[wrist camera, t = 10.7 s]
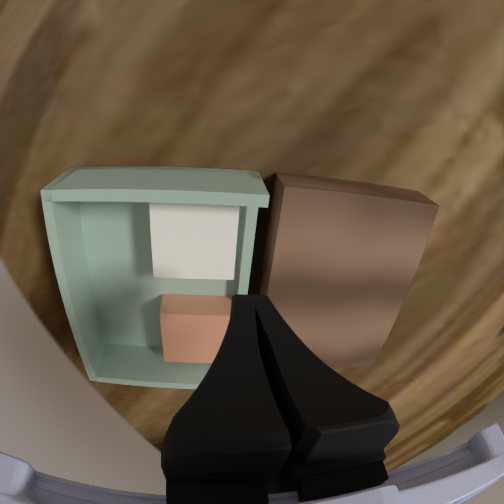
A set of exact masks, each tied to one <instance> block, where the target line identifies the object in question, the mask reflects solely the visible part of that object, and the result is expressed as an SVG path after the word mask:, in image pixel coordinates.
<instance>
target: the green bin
mask: <svg viewBox="0 0 504 504" xmlns="http://www.w3.org/2000/svg"><path fill="white" fill-rule="evenodd" d="M269 197H270V195H269V193H268V191H267V189H266V186H265V184H264V182H263V180H262V178H261V176H260V174H259V172H258V171H248V170H233V169H216V168H194V167H162V166H95V167H71V168H70V169H68V170H67V171H65V172H64V173H63V174H61V175H60V176H58V177H57V178H56V179H54V180H53V181H52V182H50V183H49V184H48V185H46V186H45V187H44V188H43V189H41V198H42V205H43V212H44V218H45V224H46V230H47V235H48V241H49V246H50V250H51V255H52V260H53V264H54V269H55V273H56V277H57V281H58V285H59V289H60V292H61V296H62V300H63V303H64V307H65V310H66V313H67V317H68V320H69V323H70V326H71V330H72V333H73V336H74V339H75V342H76V344H77V347H78V350H79V353H80V356H81V358H82V361H83V364H84V366H85V369H86V371H87V374H88V377H89V379H90V380H91V381H98V382H106V383H115V384H125V385H135V386H147V387H161V388H180V389H196V388H197V387H198V386H199V384H200V383H201V381H202V380H203V378H204V376H205V375H206V373H207V371H208V370H209V368H210V366H211V364H212V363H185V362H165V361H164V353H163V344H162V335H161V325H160V315H159V313H160V307H161V302H162V296H163V294H186V295H215V296H231V298H232V296H233V295H235V294H245V295H248V287H249V279H250V271H251V263H252V255H253V247H254V239H255V231H256V223H257V215H258V207H265V208H268V204H269ZM149 202H155V203H186V204H210V205H230V206H240V209H239V221H238V233H237V245H236V258H235V271H234V280H218V279H179V278H154V274H153V262H152V248H151V231H150V209H149Z"/></svg>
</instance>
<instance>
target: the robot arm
mask: <svg viewBox="0 0 504 504" xmlns="http://www.w3.org/2000/svg"><path fill="white" fill-rule="evenodd" d="M398 430H399V424H398V421H397V419H396V417H395V414H394V412H393V410H392V408H391V407H390V405H389V403H388V402H387V401H385V400H383V399H381V398H379V397H376V396H374V395H372V394H370V393H368V392H366V391H365V390H363V389H361V388H360V387H358V386H356V385H355V384H353V383H351V382H350V381H348V380H347V379H345V378H344V377H342V376H341V375H340V374H338V373H337V372H336V371H334V370H333V369H331V368H330V367H329V366H328V365H326V364H325V363H324V362H323V361H322V360H321V359H320V358H318V357H317V356H316V355H315V354H314V353H313V352H312V351H311V350H310V349H309V348H308V347H307V346H306V345H305V344H304V343H303V342H302V341H301V339H300V338H299V337H298V336H297V335H296V334H295V333H294V331H293V330H292V329H291V328H290V326H289V325H288V324H287V323H286V321H285V320H284V319H283V317H282V316H281V315H280V313H279V312H278V310H277V309H276V308H275V306H274V305H273V303H272V302H271V300H270V299H269V297H268V296H267V295H245V294H235V295H233V296H232V300H231V312H230V320H229V323H228V327H227V330H226V333H225V336H224V338H223V341H222V343H221V346H220V348H219V350H218V352H217V355H216V357H215V359H214V361H213V363H212V364H211V366H210V368H209V370H208V371H207V373H206V375H205V376H204V378H203V380H202V381H201V383H200V384H199V386H198V387H197V388H196V390H195V391H194V393H193V394H192V395H191V397H190V398H189V399H188V401H187V402H186V403H185V404H184V405H183V406H182V408H181V409H180V410H179V411H178V412H177V413H176V414H175V416H174V417H173V419H172V421H171V424H170V426H169V428H168V430H167V433H166V435H165V438H164V441H163V445H162V450H161V467H162V470H163V473H164V476H165V478H166V495H155V494H145V493H136V492H128V491H122V490H115V489H109V488H103V487H98V486H93V485H88V484H83V483H78V482H74V481H70V480H66V479H62V478H58V477H54V476H51V475H47V474H44V473H41V472H37V471H35V469H34V468H33V467H32V466H31V465H30V464H28V463H27V462H25V461H23V460H21V459H19V458H16V457H13V456H10V455H7V454H5V453H2V452H0V504H460V503H462V502H464V501H466V500H467V499H469V498H471V497H473V496H474V495H476V494H478V493H480V492H481V491H483V490H484V489H486V488H487V487H489V486H490V485H491V484H493V483H494V482H496V481H497V480H499V479H500V478H501V477H503V476H504V435H503V433H502V432H501V430H500V428H499V426H498V424H497V423H494V424H492V425H490V426H488V427H486V428H484V429H482V430H480V431H479V432H478V433H476V434H475V435H474V436H473V437H471V439H470V440H469V441H468V442H467V443H464V444H462V445H460V446H458V447H455V448H453V449H451V450H448V451H446V452H443V453H441V454H438V455H436V456H433V457H430V458H428V459H425V460H423V461H419V462H417V463H414V464H411V465H408V466H405V467H402V468H398V469H395V470H392V471H389V472H387V471H386V469H385V466H384V463H383V460H385V459H386V456H385V453H384V450H383V449H384V448H385V447H386V446H387V444H388V443H389V442H390V441H391V440H392V439H393V438H394V437H395V435H396V434H397V432H398Z"/></svg>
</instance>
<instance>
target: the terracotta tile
mask: <svg viewBox="0 0 504 504" xmlns="http://www.w3.org/2000/svg"><path fill="white" fill-rule="evenodd" d="M231 300H232V298H231V296H215V295H186V294H163V296H162V302H161V307H160V313H159V315H160V325H161V335H162V344H163V353H164V361H165V362H185V363H213V361H214V359H215V357H216V355H217V352H218V350H219V348H220V346H221V343H222V341H223V338H224V336H225V333H226V330H227V327H228V323H229V320H230V312H231Z"/></svg>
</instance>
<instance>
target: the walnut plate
mask: <svg viewBox="0 0 504 504" xmlns="http://www.w3.org/2000/svg"><path fill="white" fill-rule="evenodd" d="M438 207H439V205H437V204H436V203H434V202H433V201H432V200H430V199H429V198H427V197H426V196H424V195H423V194H421V193H420V192H419V191H413V190H407V189H401V188H395V187H389V186H383V185H376V184H369V183H362V182H355V181H347V180H339V179H331V178H323V177H314V176H305V175H295V174H284V173H276V174H275V181H274V189H273V196H272V203H271V210H270V217H269V224H268V231H267V238H266V245H265V252H264V259H263V266H262V273H261V279H260V286H259V293H258V295H267V296H268V297H269V299H270V300H271V302H272V303H273V305H274V306H275V308H276V309H277V310H278V312H279V313H280V315H281V316H282V317H283V319H284V320H285V321H286V323H287V324H288V325H289V326H290V328H291V329H292V330H293V331H294V333H295V334H296V335H297V336H298V337H299V338H300V339H301V341H302V342H303V343H304V344H305V345H306V346H307V347H308V348H309V349H310V350H311V351H312V352H313V353H314V354H315V355H316V356H317V357H318V358H320V359H321V360H322V361H323V362H324V363H325V364H326V365H328V366H329V367H330V368H331V369H338V368H348V367H358V366H366V365H373V364H374V362H375V361H376V359H377V357H378V355H379V353H380V351H381V349H382V347H383V345H384V343H385V341H386V339H387V337H388V335H389V333H390V330H391V328H392V326H393V324H394V322H395V320H396V318H397V315H398V313H399V311H400V309H401V306H402V304H403V302H404V300H405V297H406V295H407V293H408V290H409V288H410V285H411V283H412V280H413V278H414V276H415V273H416V270H417V268H418V265H419V263H420V260H421V257H422V255H423V252H424V249H425V246H426V244H427V241H428V238H429V235H430V232H431V229H432V226H433V223H434V220H435V217H436V214H437V211H438Z"/></svg>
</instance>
